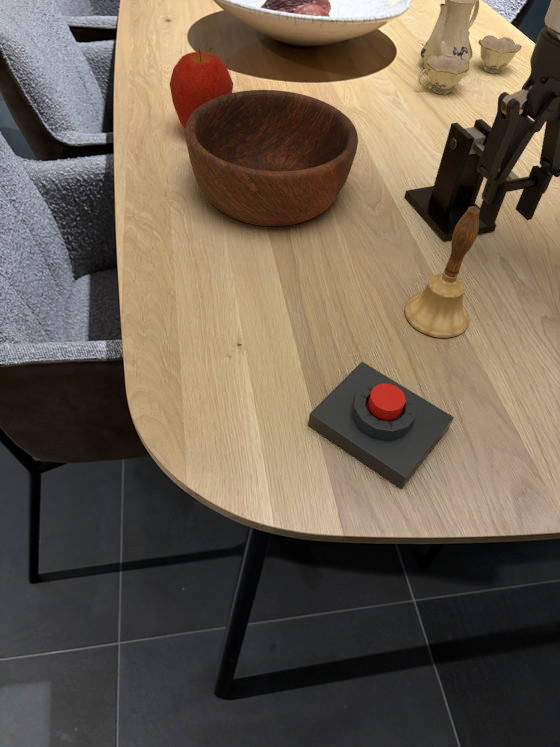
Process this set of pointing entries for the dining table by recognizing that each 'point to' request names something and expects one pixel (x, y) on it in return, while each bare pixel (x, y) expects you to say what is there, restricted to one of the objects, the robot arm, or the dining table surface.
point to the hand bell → (446, 288)
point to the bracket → (452, 184)
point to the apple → (198, 82)
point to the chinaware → (460, 47)
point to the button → (386, 402)
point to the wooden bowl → (270, 155)
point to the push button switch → (380, 426)
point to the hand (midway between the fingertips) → (504, 217)
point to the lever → (513, 179)
